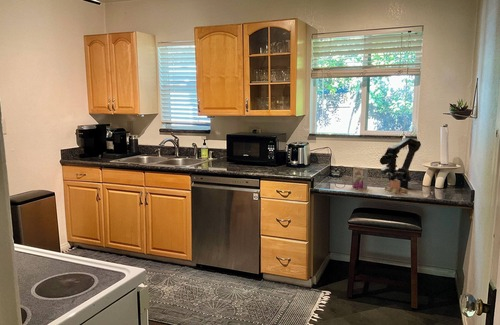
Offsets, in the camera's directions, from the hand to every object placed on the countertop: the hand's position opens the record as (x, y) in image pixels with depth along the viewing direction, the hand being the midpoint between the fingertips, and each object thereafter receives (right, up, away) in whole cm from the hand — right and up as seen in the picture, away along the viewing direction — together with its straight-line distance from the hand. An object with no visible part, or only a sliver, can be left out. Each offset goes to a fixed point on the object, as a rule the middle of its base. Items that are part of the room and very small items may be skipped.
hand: (390, 184), depth 302 cm
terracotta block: (+1, -5, -4) cm, 6 cm away
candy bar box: (-21, -4, +10) cm, 23 cm away
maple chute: (+2, -6, -6) cm, 8 cm away
